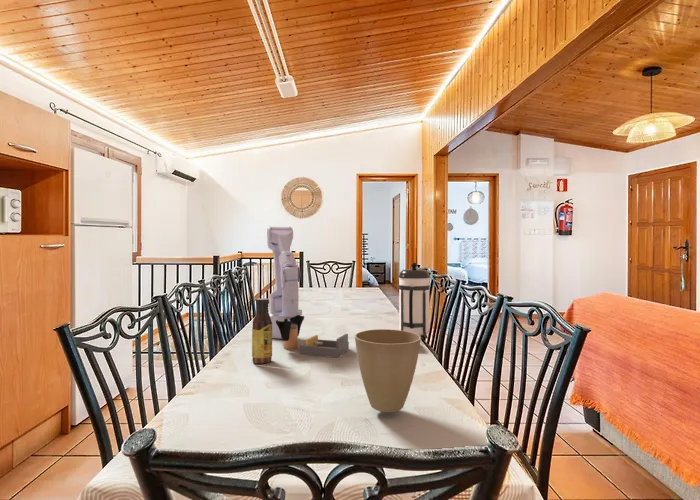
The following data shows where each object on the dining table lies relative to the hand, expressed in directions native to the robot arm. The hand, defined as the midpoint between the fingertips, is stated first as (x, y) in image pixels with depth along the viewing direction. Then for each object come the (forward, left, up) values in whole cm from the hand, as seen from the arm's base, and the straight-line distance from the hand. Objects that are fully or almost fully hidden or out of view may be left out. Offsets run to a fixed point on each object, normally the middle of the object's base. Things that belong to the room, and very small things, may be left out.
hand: (290, 338), depth 139 cm
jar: (0, 0, -4) cm, 4 cm away
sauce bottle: (-1, -17, -4) cm, 17 cm away
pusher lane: (+13, 0, -4) cm, 14 cm away
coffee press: (+39, +32, -4) cm, 51 cm away
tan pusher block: (+8, 0, -4) cm, 9 cm away
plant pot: (+45, -38, -4) cm, 59 cm away
